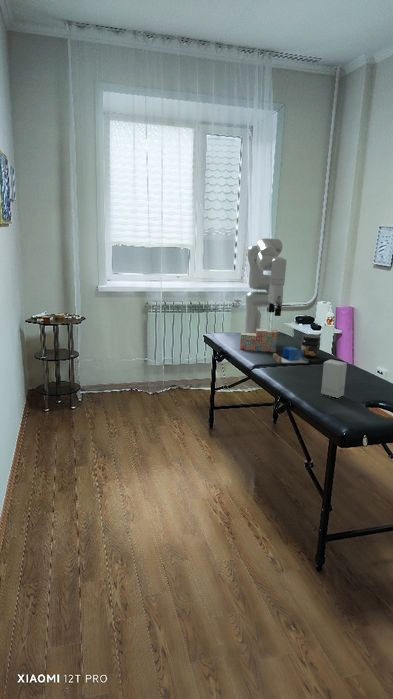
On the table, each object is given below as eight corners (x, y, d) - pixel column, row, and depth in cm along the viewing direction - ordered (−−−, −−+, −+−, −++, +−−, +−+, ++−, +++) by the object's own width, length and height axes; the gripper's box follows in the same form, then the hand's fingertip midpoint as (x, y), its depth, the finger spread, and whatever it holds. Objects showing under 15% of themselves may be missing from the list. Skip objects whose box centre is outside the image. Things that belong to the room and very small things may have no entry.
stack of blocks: (239, 349, 273) (241, 329, 270) (239, 347, 279) (241, 327, 276) (276, 352, 271) (277, 331, 268) (275, 349, 278) (277, 329, 274)
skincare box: (343, 396, 203) (348, 362, 199) (337, 400, 198) (341, 365, 194) (326, 391, 208) (330, 358, 204) (319, 394, 203) (323, 361, 199)
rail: (272, 358, 258) (273, 353, 257) (274, 358, 258) (275, 353, 257) (279, 363, 248) (279, 358, 247) (281, 363, 248) (281, 358, 248)
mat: (275, 358, 258) (276, 355, 257) (301, 358, 260) (302, 355, 260) (281, 363, 249) (281, 360, 249) (308, 363, 252) (308, 360, 251)
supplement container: (299, 357, 262) (301, 337, 259) (300, 352, 272) (303, 333, 269) (318, 359, 260) (320, 339, 256) (319, 355, 269) (321, 335, 266)
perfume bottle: (283, 347, 256) (301, 346, 261) (282, 357, 258) (300, 356, 262) (289, 350, 251) (307, 348, 255) (288, 360, 252) (306, 359, 257)
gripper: (265, 279, 249) (262, 310, 253) (276, 284, 232) (273, 317, 237) (278, 280, 250) (275, 311, 255) (290, 284, 234) (286, 317, 238)
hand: (274, 314), depth 246 cm, fingers open, 9 cm apart
